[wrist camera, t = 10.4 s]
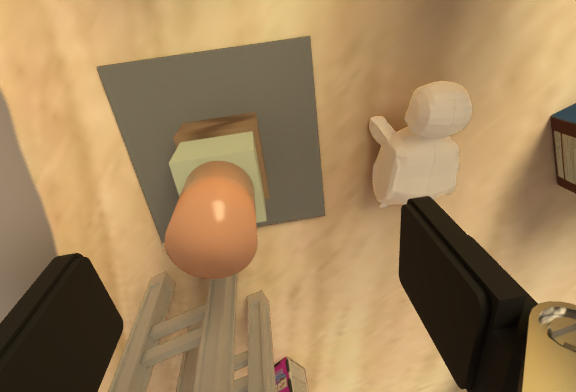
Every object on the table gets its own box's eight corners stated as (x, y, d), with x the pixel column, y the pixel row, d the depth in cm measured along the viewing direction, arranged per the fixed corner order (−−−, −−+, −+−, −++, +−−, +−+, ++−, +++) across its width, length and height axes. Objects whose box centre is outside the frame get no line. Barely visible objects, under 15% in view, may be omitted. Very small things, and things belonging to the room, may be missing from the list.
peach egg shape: (248, 155, 25) (249, 197, 19) (259, 217, 28) (263, 271, 22) (175, 166, 25) (152, 212, 19) (193, 227, 28) (178, 285, 22)
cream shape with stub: (420, 168, 43) (468, 56, 32) (448, 220, 38) (519, 107, 26) (355, 173, 42) (382, 60, 31) (374, 227, 37) (415, 113, 25)
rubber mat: (309, 36, 32) (310, 36, 31) (324, 214, 41) (325, 215, 41) (98, 66, 31) (96, 67, 30) (162, 240, 40) (162, 242, 40)
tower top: (252, 131, 30) (253, 149, 25) (263, 194, 33) (266, 221, 28) (180, 142, 29) (168, 163, 25) (198, 205, 32) (190, 233, 28)
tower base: (255, 111, 34) (257, 124, 29) (267, 177, 37) (269, 198, 33) (182, 123, 34) (173, 137, 29) (201, 188, 37) (194, 210, 33)
